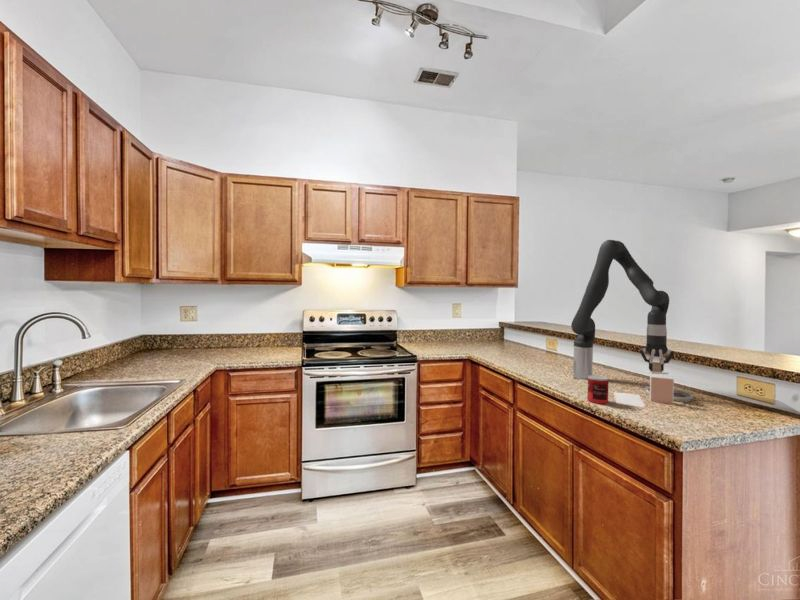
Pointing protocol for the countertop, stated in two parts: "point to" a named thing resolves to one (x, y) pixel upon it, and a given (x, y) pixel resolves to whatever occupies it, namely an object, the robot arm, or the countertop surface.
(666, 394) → the tile
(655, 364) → the tan long bar
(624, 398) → the mat
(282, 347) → the countertop surface
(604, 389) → the canned food
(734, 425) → the countertop surface
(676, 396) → the frying pan
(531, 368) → the countertop surface
